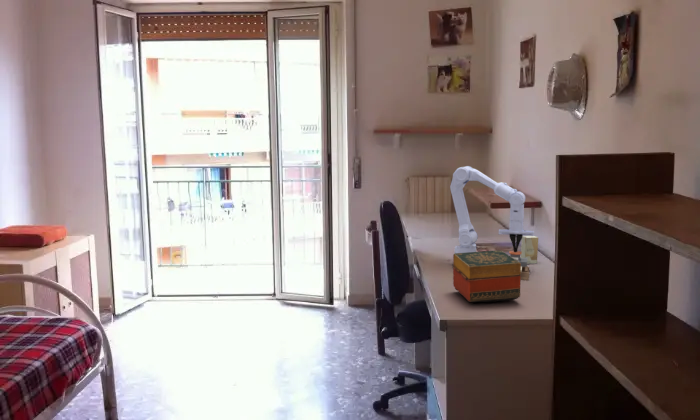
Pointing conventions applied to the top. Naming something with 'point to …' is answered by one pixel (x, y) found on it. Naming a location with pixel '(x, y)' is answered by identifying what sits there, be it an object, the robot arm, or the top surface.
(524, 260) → the cabinet
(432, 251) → the top surface
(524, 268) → the wooden tray
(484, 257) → the decorative box
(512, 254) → the button
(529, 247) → the skincare box
